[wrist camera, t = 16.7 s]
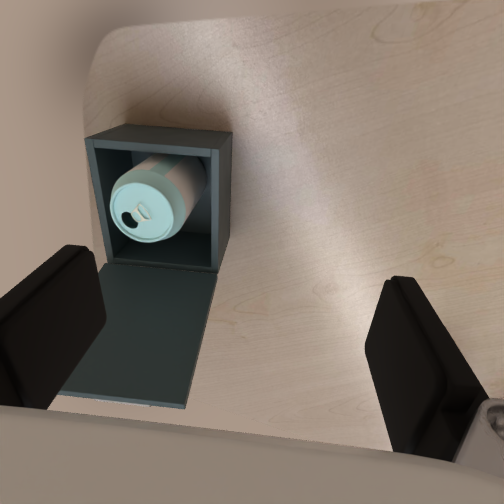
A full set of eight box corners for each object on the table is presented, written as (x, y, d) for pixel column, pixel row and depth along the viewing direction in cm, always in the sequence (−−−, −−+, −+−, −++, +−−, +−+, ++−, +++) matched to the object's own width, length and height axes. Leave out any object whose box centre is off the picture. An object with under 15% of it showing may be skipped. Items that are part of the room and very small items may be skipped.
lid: (22, 386, 25) (46, 415, 28) (184, 404, 25) (189, 432, 28) (104, 262, 36) (115, 293, 39) (217, 273, 36) (218, 304, 39)
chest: (124, 123, 38) (83, 138, 30) (232, 132, 37) (219, 149, 30) (137, 229, 44) (107, 263, 37) (229, 238, 44) (218, 274, 36)
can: (197, 211, 42) (168, 260, 31) (144, 189, 41) (96, 231, 30) (215, 160, 38) (190, 196, 28) (158, 135, 37) (110, 161, 27)
